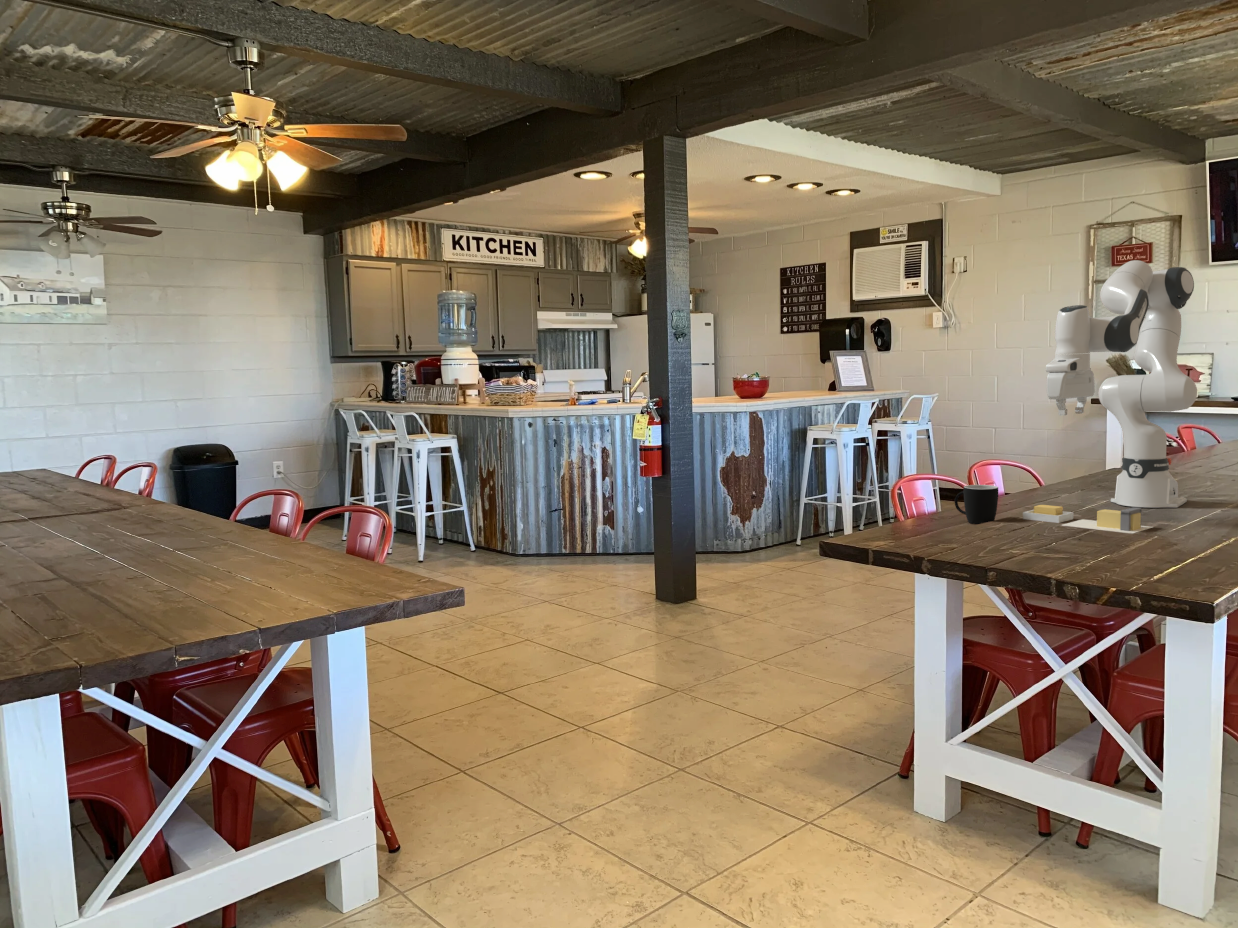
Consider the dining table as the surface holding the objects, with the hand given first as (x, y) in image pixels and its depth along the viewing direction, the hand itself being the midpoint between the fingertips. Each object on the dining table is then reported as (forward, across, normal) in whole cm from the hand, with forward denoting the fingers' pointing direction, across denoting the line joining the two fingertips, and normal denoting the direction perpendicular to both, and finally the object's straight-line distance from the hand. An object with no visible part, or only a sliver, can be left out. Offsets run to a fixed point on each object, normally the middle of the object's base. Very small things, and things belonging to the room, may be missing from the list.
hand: (1071, 414), depth 255 cm
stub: (+28, +12, 0) cm, 31 cm away
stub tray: (+29, +12, 0) cm, 31 cm away
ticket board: (+29, +13, +16) cm, 36 cm away
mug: (+29, +23, -15) cm, 40 cm away
